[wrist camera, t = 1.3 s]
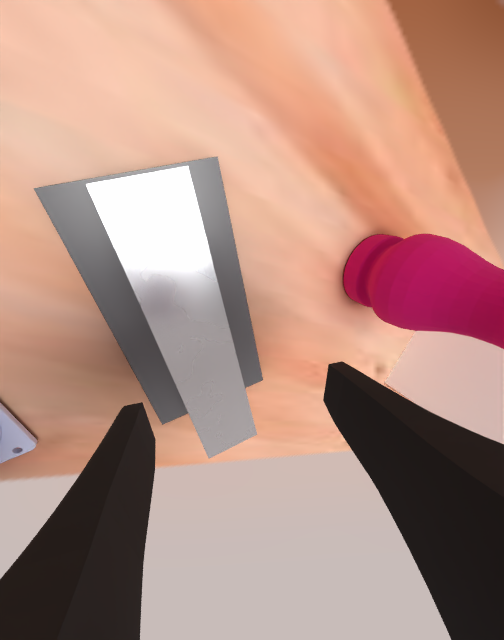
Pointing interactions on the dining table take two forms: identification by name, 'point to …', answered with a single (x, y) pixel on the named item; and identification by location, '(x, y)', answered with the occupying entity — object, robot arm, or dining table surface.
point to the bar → (179, 296)
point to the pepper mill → (428, 285)
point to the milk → (454, 380)
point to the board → (118, 295)
